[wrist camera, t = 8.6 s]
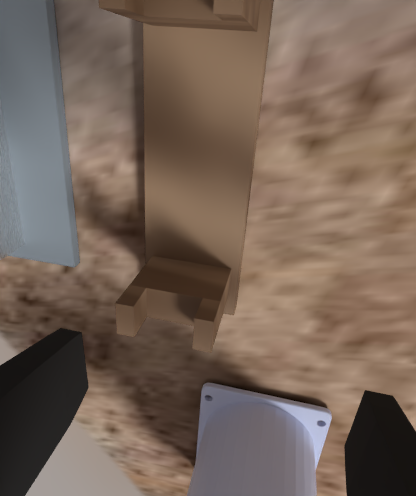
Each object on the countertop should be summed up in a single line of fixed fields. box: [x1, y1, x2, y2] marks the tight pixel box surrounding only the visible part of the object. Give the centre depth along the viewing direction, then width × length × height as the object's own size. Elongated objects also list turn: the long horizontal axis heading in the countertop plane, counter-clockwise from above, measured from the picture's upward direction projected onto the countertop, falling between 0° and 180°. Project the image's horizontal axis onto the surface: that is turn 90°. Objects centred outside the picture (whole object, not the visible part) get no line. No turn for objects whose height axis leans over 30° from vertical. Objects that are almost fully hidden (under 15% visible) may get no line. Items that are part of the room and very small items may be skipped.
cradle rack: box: [99, 0, 274, 353], centre depth 15 cm, size 16×5×6 cm, turn 176°
